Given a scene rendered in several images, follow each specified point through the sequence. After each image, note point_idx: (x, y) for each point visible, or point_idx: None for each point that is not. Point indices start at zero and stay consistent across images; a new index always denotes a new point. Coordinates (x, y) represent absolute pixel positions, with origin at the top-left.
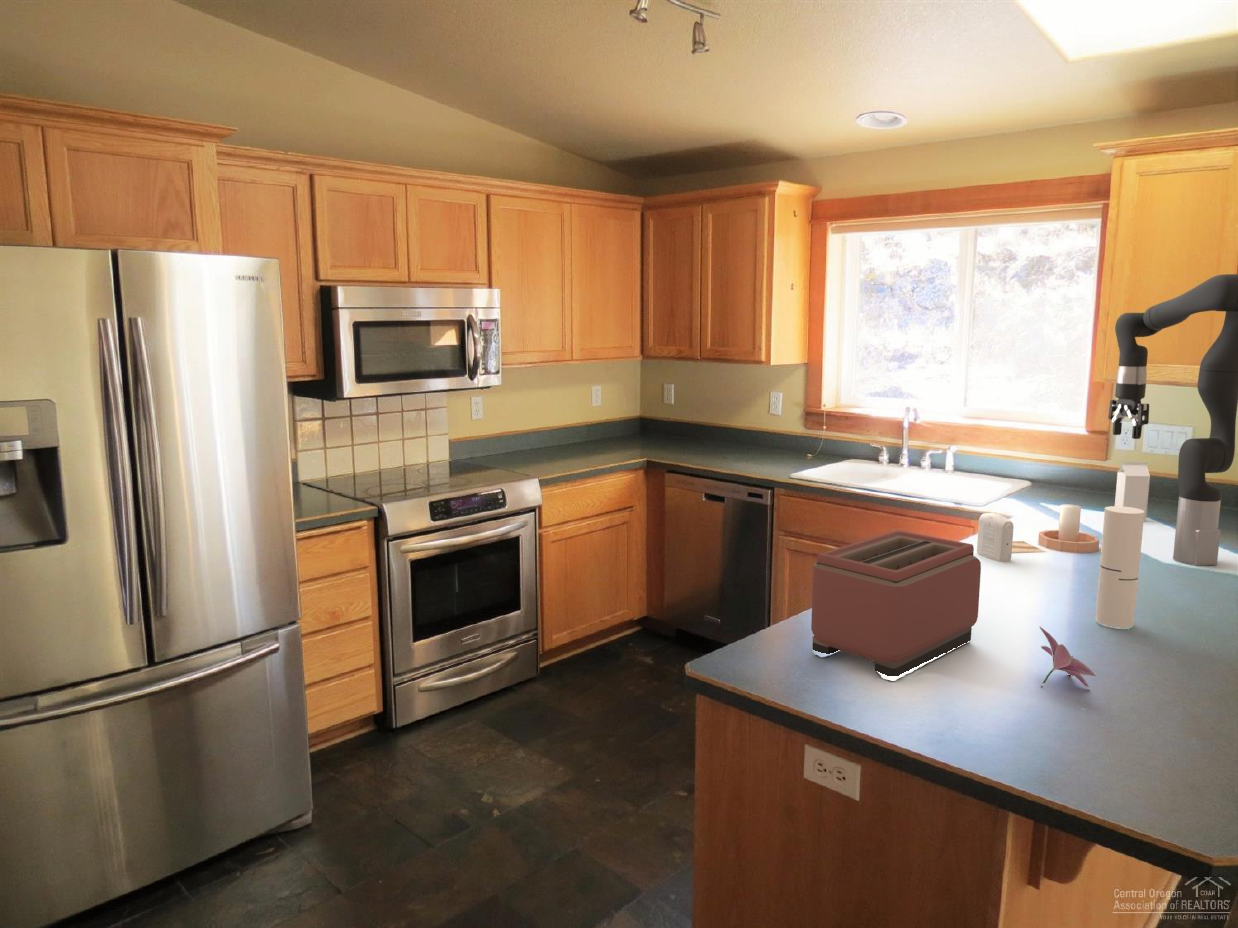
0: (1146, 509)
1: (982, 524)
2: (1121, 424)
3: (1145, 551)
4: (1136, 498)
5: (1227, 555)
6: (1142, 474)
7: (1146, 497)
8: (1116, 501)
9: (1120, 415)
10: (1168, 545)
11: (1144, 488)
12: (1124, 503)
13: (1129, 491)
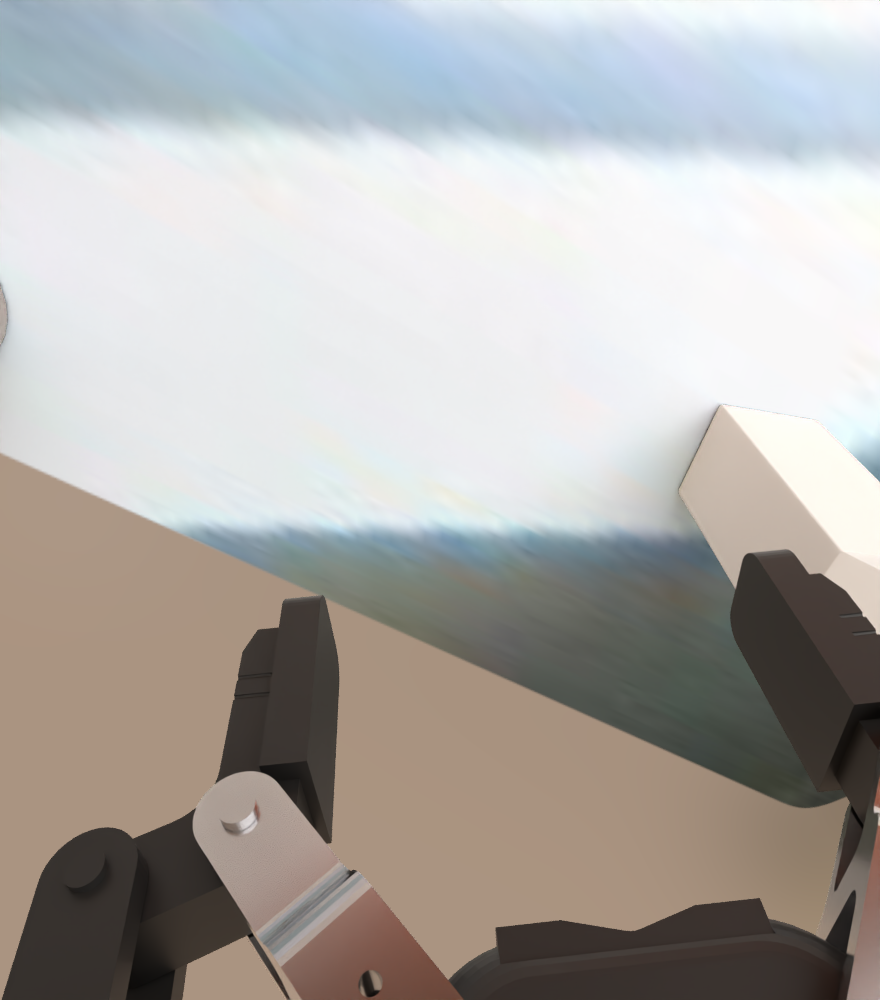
0: (698, 525)
1: None
2: (804, 757)
3: (73, 156)
4: (741, 518)
5: (81, 486)
6: None
7: (724, 560)
8: (840, 458)
9: (843, 902)
10: (232, 350)
11: None
12: (755, 455)
13: (776, 511)
